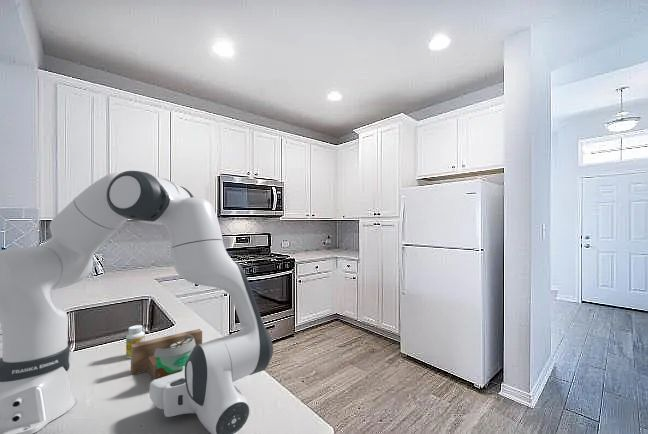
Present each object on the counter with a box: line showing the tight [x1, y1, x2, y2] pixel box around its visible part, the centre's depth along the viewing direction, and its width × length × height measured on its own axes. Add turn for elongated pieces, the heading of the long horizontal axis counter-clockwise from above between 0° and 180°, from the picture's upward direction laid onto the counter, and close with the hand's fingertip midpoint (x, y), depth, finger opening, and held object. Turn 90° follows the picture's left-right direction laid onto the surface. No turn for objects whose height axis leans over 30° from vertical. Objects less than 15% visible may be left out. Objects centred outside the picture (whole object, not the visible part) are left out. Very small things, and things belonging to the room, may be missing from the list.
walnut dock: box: [130, 328, 203, 381], centre depth 91 cm, size 20×13×8 cm, turn 131°
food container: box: [154, 334, 196, 379], centre depth 85 cm, size 12×6×10 cm, turn 159°
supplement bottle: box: [125, 324, 146, 360], centre depth 100 cm, size 5×5×10 cm
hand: (187, 367), depth 80 cm, fingers closed
